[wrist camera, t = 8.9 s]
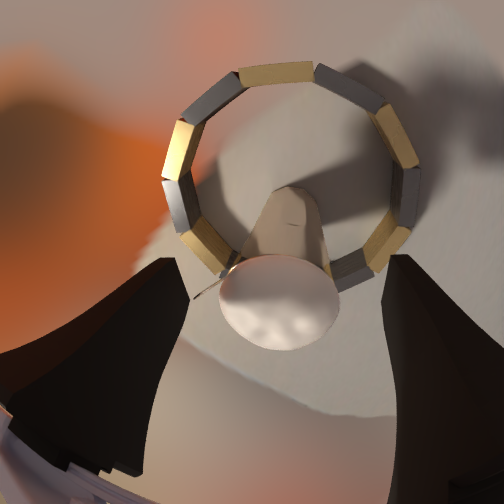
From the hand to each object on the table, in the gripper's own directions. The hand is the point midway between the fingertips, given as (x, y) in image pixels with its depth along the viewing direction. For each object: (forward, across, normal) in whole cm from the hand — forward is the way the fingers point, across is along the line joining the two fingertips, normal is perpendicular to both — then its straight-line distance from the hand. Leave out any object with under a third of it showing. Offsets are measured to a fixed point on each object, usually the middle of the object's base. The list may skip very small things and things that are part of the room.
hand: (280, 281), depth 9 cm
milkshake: (+9, 0, +1) cm, 9 cm away
